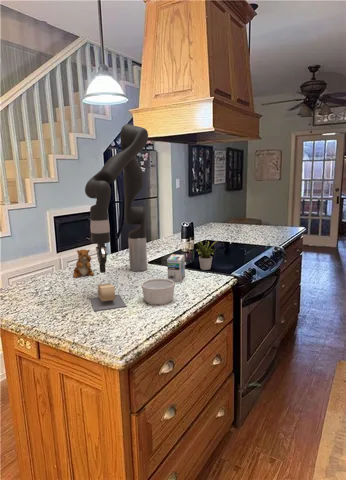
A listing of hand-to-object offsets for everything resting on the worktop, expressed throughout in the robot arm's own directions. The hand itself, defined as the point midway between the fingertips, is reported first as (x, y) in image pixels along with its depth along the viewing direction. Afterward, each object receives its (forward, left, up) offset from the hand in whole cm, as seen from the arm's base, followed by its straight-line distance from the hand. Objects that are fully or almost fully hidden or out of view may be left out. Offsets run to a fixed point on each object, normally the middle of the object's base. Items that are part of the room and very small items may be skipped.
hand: (102, 272), depth 141 cm
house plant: (-21, +55, -10) cm, 60 cm away
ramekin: (+13, +20, -10) cm, 26 cm away
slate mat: (+9, 0, -10) cm, 14 cm away
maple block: (+1, 0, -7) cm, 7 cm away
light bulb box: (-10, +36, -10) cm, 39 cm away
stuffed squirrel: (-36, -5, -10) cm, 38 cm away
